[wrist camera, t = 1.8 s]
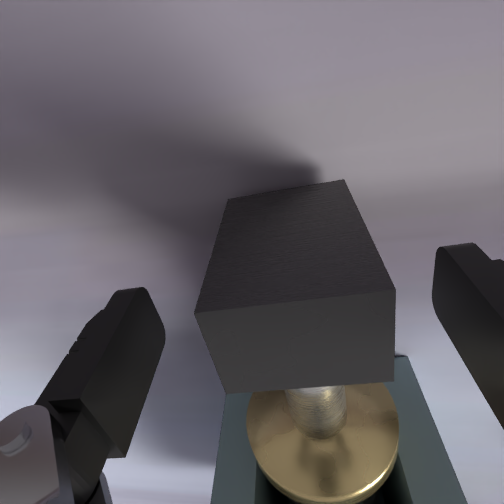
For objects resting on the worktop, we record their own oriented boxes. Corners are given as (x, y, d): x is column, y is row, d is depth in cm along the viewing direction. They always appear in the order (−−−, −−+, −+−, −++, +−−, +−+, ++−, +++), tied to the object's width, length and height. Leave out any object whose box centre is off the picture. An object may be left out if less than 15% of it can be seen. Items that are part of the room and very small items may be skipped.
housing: (407, 356, 18) (489, 558, 11) (402, 467, 24) (453, 642, 17) (229, 371, 20) (202, 556, 13) (266, 472, 26) (262, 634, 19)
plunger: (372, 174, 12) (449, 286, 7) (378, 442, 21) (412, 581, 16) (203, 203, 13) (151, 321, 8) (279, 447, 23) (279, 579, 17)
